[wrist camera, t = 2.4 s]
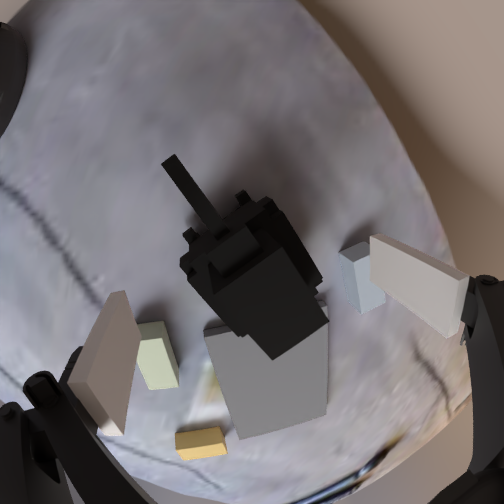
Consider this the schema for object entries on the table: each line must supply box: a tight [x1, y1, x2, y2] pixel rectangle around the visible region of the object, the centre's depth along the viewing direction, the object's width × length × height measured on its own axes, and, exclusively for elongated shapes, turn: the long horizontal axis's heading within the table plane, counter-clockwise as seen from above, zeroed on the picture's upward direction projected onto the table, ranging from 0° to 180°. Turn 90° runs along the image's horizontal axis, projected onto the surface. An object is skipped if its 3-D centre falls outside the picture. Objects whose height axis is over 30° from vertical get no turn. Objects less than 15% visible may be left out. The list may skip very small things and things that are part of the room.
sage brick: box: [136, 321, 179, 390], centre depth 24 cm, size 6×3×3 cm, turn 6°
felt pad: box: [203, 301, 328, 440], centre depth 29 cm, size 18×12×1 cm, turn 9°
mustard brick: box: [175, 426, 228, 460], centre depth 30 cm, size 6×3×3 cm, turn 99°
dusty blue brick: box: [338, 241, 386, 315], centre depth 26 cm, size 6×3×3 cm, turn 19°
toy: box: [161, 154, 329, 361], centre depth 19 cm, size 8×14×10 cm, turn 33°
